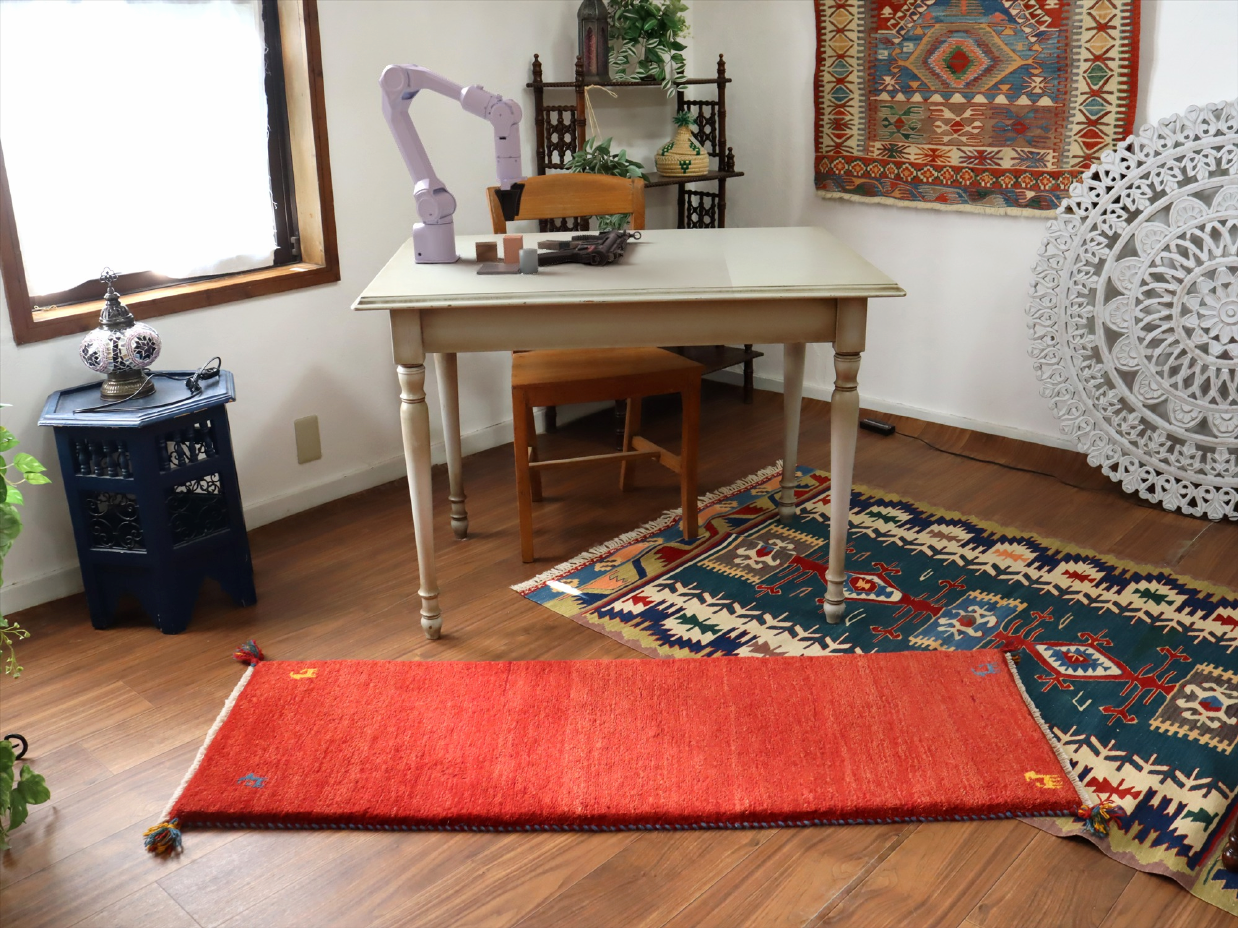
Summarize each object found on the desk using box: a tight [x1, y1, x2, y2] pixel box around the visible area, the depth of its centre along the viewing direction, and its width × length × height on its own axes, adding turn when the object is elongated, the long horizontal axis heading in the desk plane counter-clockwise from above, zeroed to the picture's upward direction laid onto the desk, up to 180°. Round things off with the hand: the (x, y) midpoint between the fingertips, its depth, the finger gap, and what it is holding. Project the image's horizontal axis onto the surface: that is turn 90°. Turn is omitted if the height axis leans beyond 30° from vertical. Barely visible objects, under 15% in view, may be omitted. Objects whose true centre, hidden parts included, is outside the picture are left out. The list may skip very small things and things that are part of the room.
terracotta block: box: [502, 234, 524, 264], centre depth 245 cm, size 4×4×6 cm
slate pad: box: [476, 263, 520, 275], centre depth 237 cm, size 9×9×1 cm
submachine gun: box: [537, 228, 642, 267], centre depth 254 cm, size 33×4×25 cm
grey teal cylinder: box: [519, 247, 539, 275], centre depth 234 cm, size 4×4×5 cm
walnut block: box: [474, 240, 499, 263], centre depth 249 cm, size 5×4×4 cm
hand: (511, 218), depth 242 cm, fingers open, 7 cm apart
